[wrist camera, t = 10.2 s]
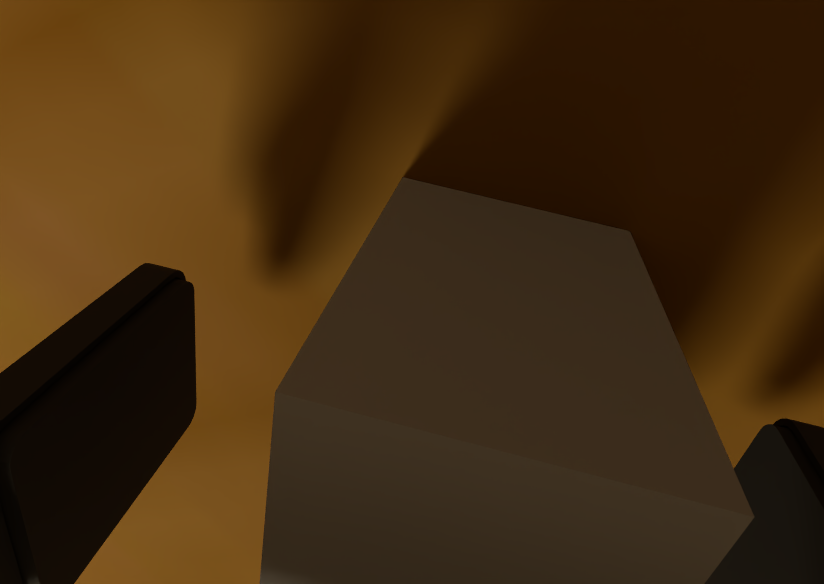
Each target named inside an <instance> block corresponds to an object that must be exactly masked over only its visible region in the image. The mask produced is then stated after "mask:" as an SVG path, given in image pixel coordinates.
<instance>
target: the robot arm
mask: <svg viewBox="0 0 824 584" xmlns="http://www.w3.org/2000/svg"><path fill="white" fill-rule="evenodd" d="M195 410H196V359H195V306H194V287H193V284H192V283H190V282H187V281H186V279H185V276H184V274H183V272H181V271H179V270H175V269H171V268H167V267H163V266H159V265H155V264H151V263H144V264H143V265H141V266H139V267H138V268H137V269H135V270H134V271H133V272H131V273H130V274H129V275H128V276H126V277H125V278H124V279H122V280H121V281H120V282H118V283H117V284H116V285H115V286H113V287H112V288H111V289H109V290H108V291H107V292H105V293H104V294H103V295H102V296H100V297H99V298H98V299H96V300H95V301H94V302H92V303H91V304H90V305H88V306H87V307H86V308H85V309H83V310H82V311H81V312H79V313H78V314H77V315H75V316H74V317H73V318H72V319H70V320H69V321H68V322H66V323H65V324H64V325H62V326H61V327H60V328H59V329H57V330H56V331H55V332H53V333H52V334H51V335H49V336H48V337H47V338H46V339H44V340H43V341H42V342H40V343H39V344H38V345H36V346H35V347H34V348H33V349H31V350H30V351H29V352H27V353H26V354H25V355H23V356H22V357H21V358H20V359H18V360H17V361H16V362H14V363H13V364H12V365H10V366H9V367H8V368H7V369H5V370H4V371H3V372H1V373H0V584H74V583H75V582H76V580H77V579H78V577H79V576H80V575H81V573H82V572H83V571H84V569H85V568H86V567H87V565H88V564H89V562H90V561H91V560H92V558H93V557H94V556H95V554H96V553H97V551H98V550H99V549H100V547H101V546H102V545H103V543H104V542H105V540H106V539H107V538H108V536H109V535H110V534H111V532H112V531H113V529H114V528H115V527H116V525H117V524H118V523H119V521H120V520H121V518H122V517H123V516H124V514H125V513H126V512H127V510H128V509H129V508H130V506H131V505H132V503H133V502H134V501H135V499H136V498H137V497H138V495H139V494H140V492H141V491H142V490H143V488H144V487H145V486H146V484H147V483H148V481H149V480H150V479H151V477H152V476H153V475H154V473H155V472H156V470H157V469H158V468H159V466H160V465H161V464H162V462H163V461H164V459H165V458H166V457H167V455H168V454H169V453H170V451H171V450H172V449H173V447H174V446H175V444H176V443H177V442H178V440H179V439H180V438H181V436H182V435H183V433H184V432H185V431H186V429H187V428H188V427H189V425H190V423H191V421H192V419H193V417H194V414H195ZM734 471H735V474H736V476H737V478H738V480H739V483H740V485H741V487H742V490H743V492H744V494H745V496H746V499H747V501H748V503H749V506H750V508H751V510H752V513H753V515H754V518H753V520H752V521H751V522H750V524H749V525H748V526H747V528H746V529H745V530H744V532H743V533H742V534H741V536H740V537H739V538H738V540H737V541H736V542H735V544H734V545H733V546H732V548H731V549H730V550H729V552H728V553H727V554H726V556H725V557H724V558H723V560H722V561H721V562H720V564H719V565H718V566H717V568H716V569H715V570H714V572H713V573H712V574H711V576H710V577H709V578H708V580H707V581H706V582H705V584H824V428H822V427H819V426H815V425H811V424H807V423H803V422H799V421H795V420H790V419H780V420H778V421H776V422H775V423H774V424H773V425H772V424H768V425H765V426H764V427H763V428H762V429H761V430H760V431H759V433H758V434H757V436H756V437H755V438H754V440H753V441H752V443H751V444H750V446H749V447H748V449H747V450H746V452H745V453H744V455H743V456H742V458H741V459H740V461H739V462H738V464H737V465H736V467H735V468H734Z"/></svg>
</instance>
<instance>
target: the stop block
mask: <svg viewBox="0 0 824 584" xmlns="http://www.w3.org/2000/svg"><path fill="white" fill-rule="evenodd" d="M753 518H754V515H753V513H752V510H751V508H750V506H749V503H748V501H747V499H746V496H745V494H744V492H743V490H742V487H741V485H740V483H739V480H738V478H737V476H736V474H735V471H734V469H733V467H732V464H731V462H730V460H729V457H728V455H727V453H726V451H725V448H724V446H723V444H722V441H721V439H720V437H719V435H718V432H717V430H716V428H715V425H714V423H713V421H712V418H711V416H710V414H709V412H708V409H707V407H706V405H705V402H704V400H703V398H702V396H701V393H700V391H699V389H698V386H697V384H696V382H695V379H694V377H693V375H692V373H691V370H690V368H689V366H688V363H687V361H686V359H685V357H684V354H683V352H682V350H681V347H680V345H679V343H678V340H677V338H676V336H675V334H674V331H673V329H672V327H671V324H670V322H669V320H668V318H667V315H666V313H665V311H664V308H663V306H662V304H661V301H660V299H659V297H658V295H657V292H656V290H655V288H654V285H653V283H652V281H651V279H650V276H649V274H648V272H647V269H646V267H645V265H644V262H643V260H642V258H641V256H640V253H639V251H638V249H637V246H636V244H635V242H634V240H633V237H632V235H631V233H630V231H627V230H623V229H619V228H614V227H610V226H606V225H602V224H598V223H593V222H589V221H585V220H581V219H577V218H572V217H568V216H564V215H560V214H556V213H551V212H547V211H543V210H539V209H535V208H530V207H526V206H522V205H518V204H514V203H509V202H505V201H501V200H497V199H492V198H488V197H484V196H480V195H476V194H471V193H467V192H463V191H459V190H455V189H450V188H446V187H442V186H438V185H434V184H429V183H425V182H421V181H417V180H413V179H408V178H404V177H403V178H402V179H401V181H400V183H399V184H398V186H397V188H396V189H395V191H394V193H393V195H392V196H391V198H390V200H389V201H388V203H387V205H386V206H385V208H384V210H383V211H382V213H381V215H380V216H379V218H378V220H377V222H376V223H375V225H374V227H373V228H372V230H371V232H370V233H369V235H368V237H367V238H366V240H365V242H364V243H363V245H362V247H361V248H360V250H359V252H358V254H357V255H356V257H355V259H354V260H353V262H352V264H351V265H350V267H349V269H348V270H347V272H346V274H345V275H344V277H343V279H342V280H341V282H340V284H339V286H338V287H337V289H336V291H335V292H334V294H333V296H332V297H331V299H330V301H329V302H328V304H327V306H326V307H325V309H324V311H323V313H322V314H321V316H320V318H319V319H318V321H317V323H316V324H315V326H314V328H313V329H312V331H311V333H310V334H309V336H308V338H307V339H306V341H305V343H304V345H303V346H302V348H301V350H300V351H299V353H298V355H297V356H296V358H295V360H294V361H293V363H292V365H291V366H290V368H289V370H288V371H287V373H286V375H285V377H284V378H283V380H282V382H281V383H280V385H279V387H278V388H277V390H276V392H275V402H274V414H273V427H272V439H271V451H270V464H269V476H268V488H267V501H266V513H265V525H264V538H263V550H262V562H261V575H260V584H705V582H706V581H707V580H708V578H709V577H710V576H711V574H712V573H713V572H714V570H715V569H716V568H717V566H718V565H719V564H720V562H721V561H722V560H723V558H724V557H725V556H726V554H727V553H728V552H729V550H730V549H731V548H732V546H733V545H734V544H735V542H736V541H737V540H738V538H739V537H740V536H741V534H742V533H743V532H744V530H745V529H746V528H747V526H748V525H749V524H750V522H751V521H752V520H753Z"/></svg>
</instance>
